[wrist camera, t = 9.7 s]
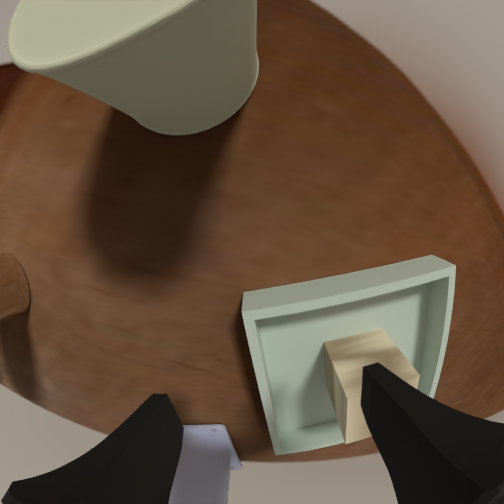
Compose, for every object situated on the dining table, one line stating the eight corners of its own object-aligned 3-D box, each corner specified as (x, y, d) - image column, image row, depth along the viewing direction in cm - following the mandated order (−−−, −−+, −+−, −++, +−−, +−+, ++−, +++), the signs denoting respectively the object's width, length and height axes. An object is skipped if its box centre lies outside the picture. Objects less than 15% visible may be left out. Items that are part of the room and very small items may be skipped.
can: (217, 158, 16) (135, 96, 4) (101, 112, 15) (-31, 64, 3) (282, 43, 14) (312, -95, 2) (166, 9, 13) (105, -94, 1)
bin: (273, 430, 21) (275, 455, 18) (243, 292, 18) (241, 312, 15) (415, 394, 20) (428, 413, 17) (432, 254, 17) (455, 265, 14)
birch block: (326, 387, 19) (345, 444, 13) (323, 342, 18) (347, 399, 12) (378, 373, 19) (408, 423, 13) (381, 327, 18) (419, 375, 12)
